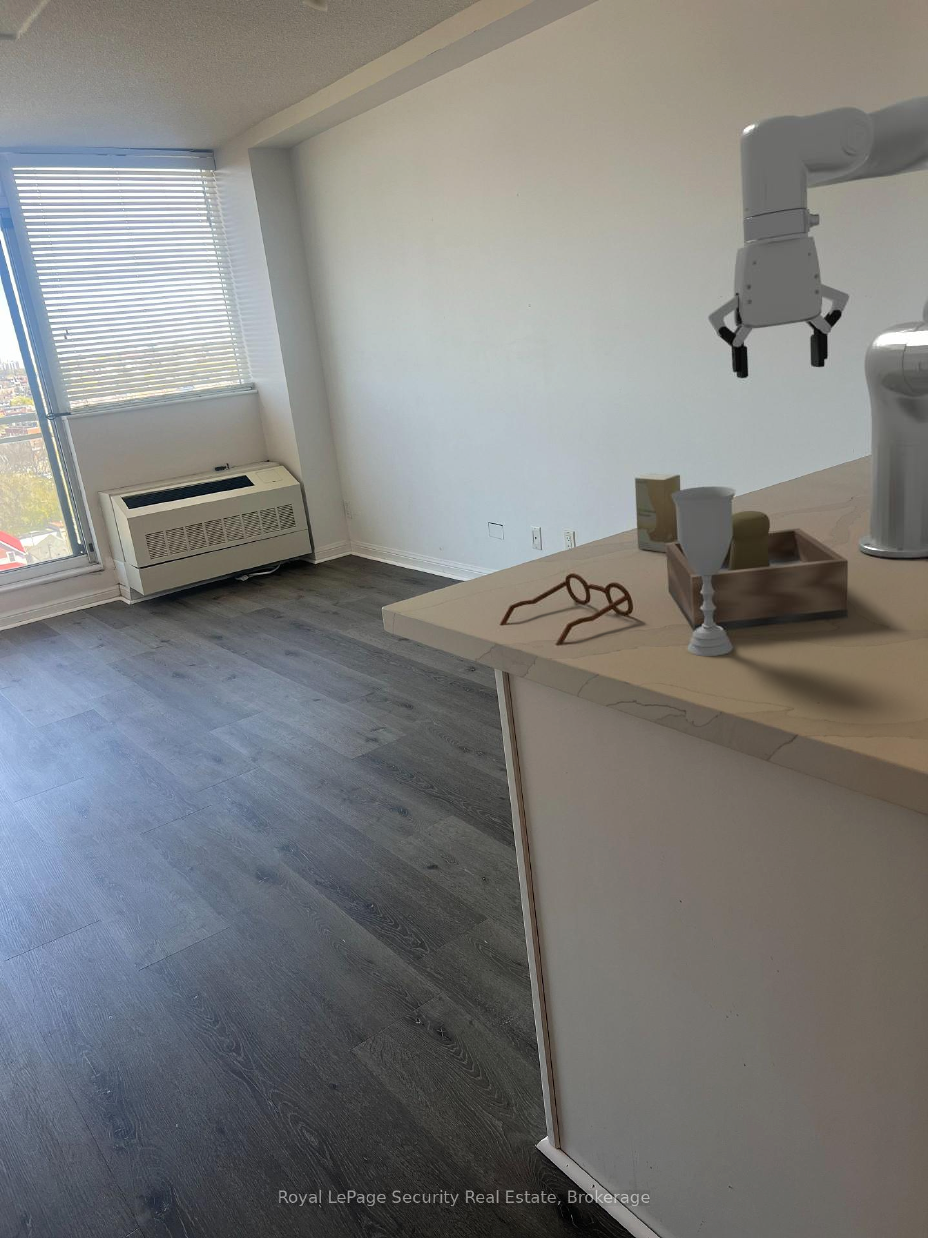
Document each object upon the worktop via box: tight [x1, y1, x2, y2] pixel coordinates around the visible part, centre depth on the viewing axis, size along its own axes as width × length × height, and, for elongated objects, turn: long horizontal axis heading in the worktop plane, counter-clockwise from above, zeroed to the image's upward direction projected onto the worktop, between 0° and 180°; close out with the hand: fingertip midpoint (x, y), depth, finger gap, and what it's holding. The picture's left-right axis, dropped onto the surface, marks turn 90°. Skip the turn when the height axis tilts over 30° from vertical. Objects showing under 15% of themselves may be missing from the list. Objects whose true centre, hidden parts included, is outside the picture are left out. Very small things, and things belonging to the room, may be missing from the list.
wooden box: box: [665, 527, 849, 632], centre depth 113 cm, size 18×18×7 cm
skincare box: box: [634, 472, 681, 553], centre depth 145 cm, size 6×4×12 cm
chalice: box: [671, 486, 737, 657], centre depth 98 cm, size 7×7×18 cm
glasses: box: [499, 572, 634, 646], centre depth 116 cm, size 13×13×5 cm
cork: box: [729, 510, 771, 571], centre depth 112 cm, size 6×6×11 cm
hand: (779, 371), depth 114 cm, fingers open, 9 cm apart
